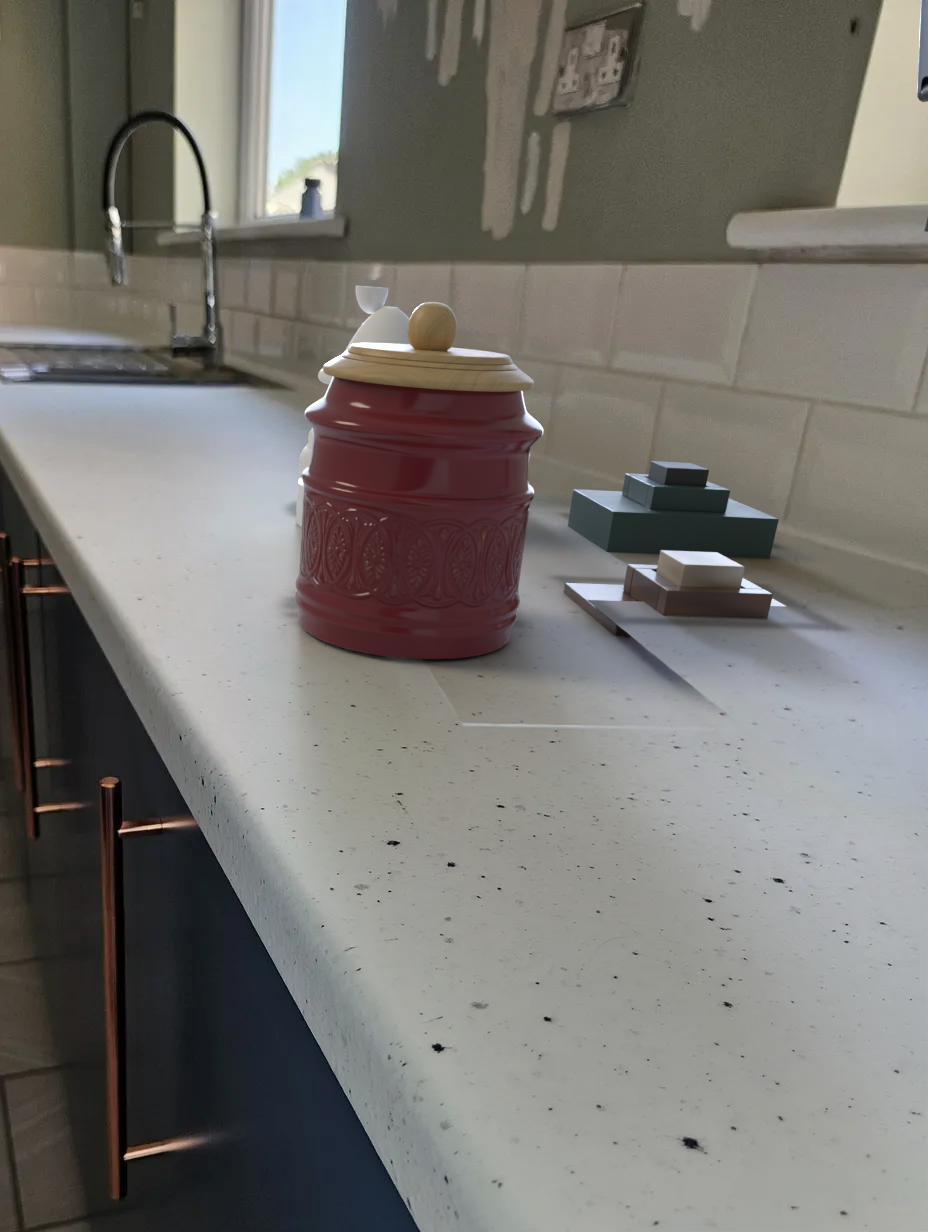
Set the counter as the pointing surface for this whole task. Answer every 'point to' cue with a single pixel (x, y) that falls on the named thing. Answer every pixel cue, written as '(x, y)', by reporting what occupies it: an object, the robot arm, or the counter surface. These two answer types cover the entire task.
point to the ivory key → (699, 569)
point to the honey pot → (375, 329)
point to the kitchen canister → (416, 497)
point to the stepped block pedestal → (672, 597)
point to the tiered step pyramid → (671, 520)
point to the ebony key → (678, 474)
